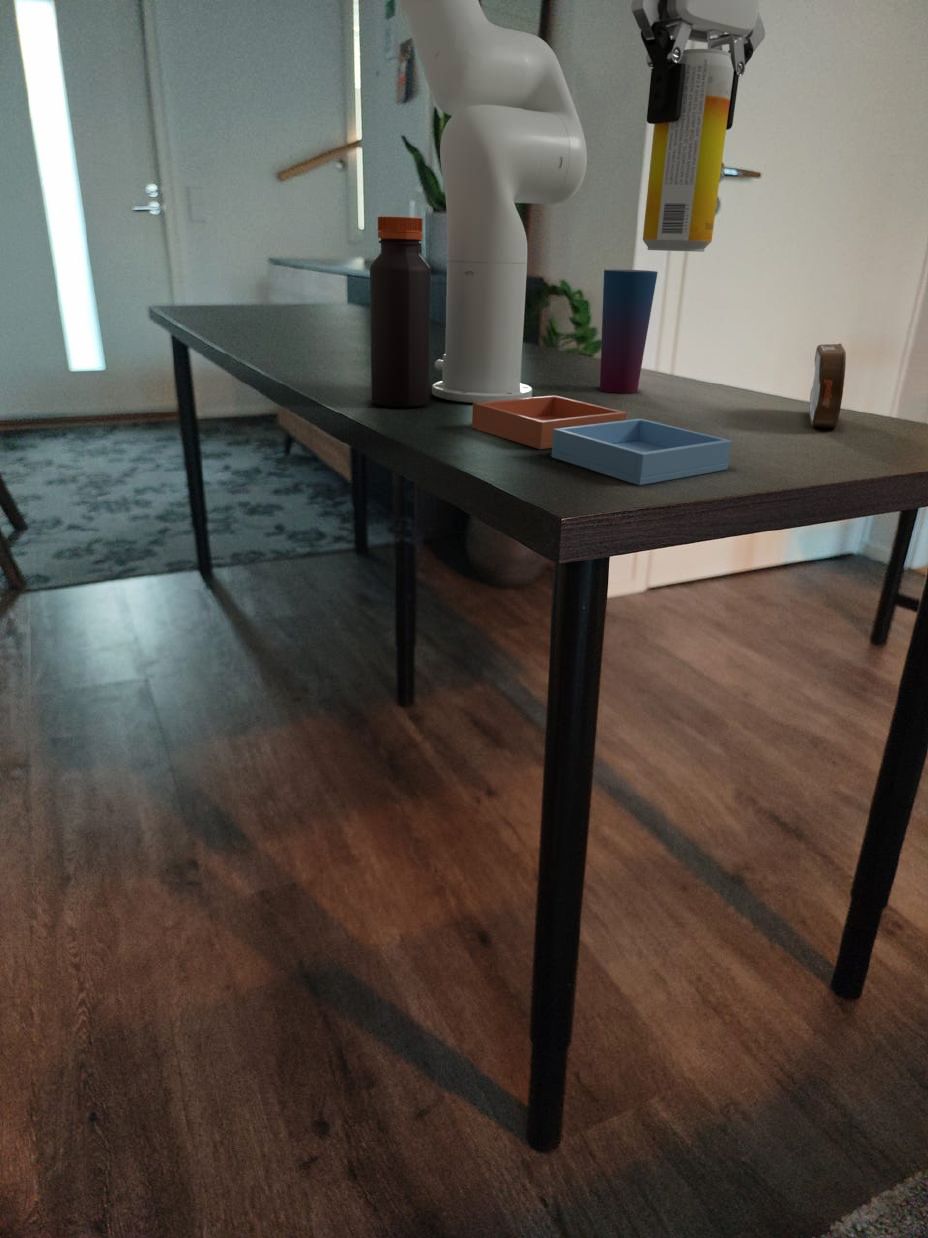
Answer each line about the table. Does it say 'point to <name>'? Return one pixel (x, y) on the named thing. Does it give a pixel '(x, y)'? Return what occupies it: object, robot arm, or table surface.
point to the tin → (827, 386)
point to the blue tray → (641, 450)
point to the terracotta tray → (537, 418)
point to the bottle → (400, 316)
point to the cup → (625, 327)
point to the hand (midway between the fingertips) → (689, 123)
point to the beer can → (689, 157)
